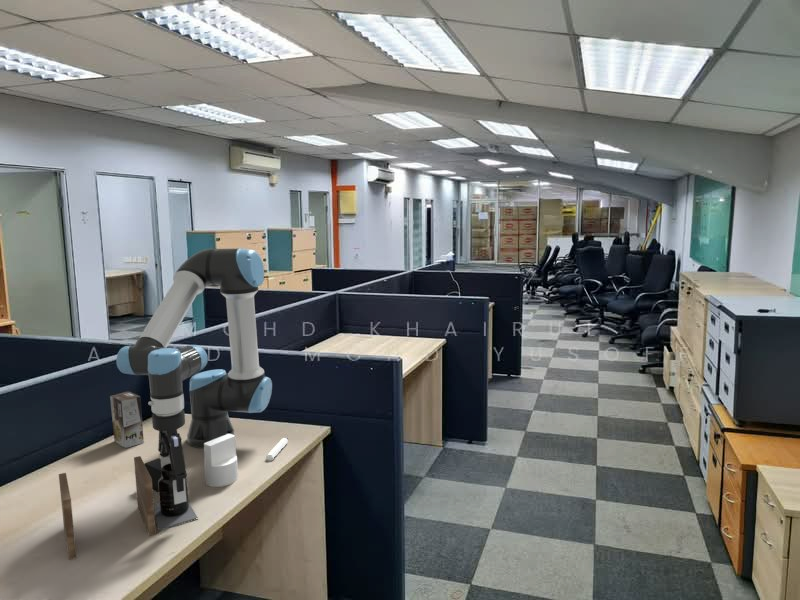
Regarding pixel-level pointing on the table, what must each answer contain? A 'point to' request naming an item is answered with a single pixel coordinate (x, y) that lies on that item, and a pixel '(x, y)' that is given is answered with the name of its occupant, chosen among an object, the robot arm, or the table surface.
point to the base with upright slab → (221, 461)
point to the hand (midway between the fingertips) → (173, 490)
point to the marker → (277, 449)
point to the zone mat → (168, 522)
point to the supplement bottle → (170, 494)
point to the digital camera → (154, 472)
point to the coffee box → (127, 419)
